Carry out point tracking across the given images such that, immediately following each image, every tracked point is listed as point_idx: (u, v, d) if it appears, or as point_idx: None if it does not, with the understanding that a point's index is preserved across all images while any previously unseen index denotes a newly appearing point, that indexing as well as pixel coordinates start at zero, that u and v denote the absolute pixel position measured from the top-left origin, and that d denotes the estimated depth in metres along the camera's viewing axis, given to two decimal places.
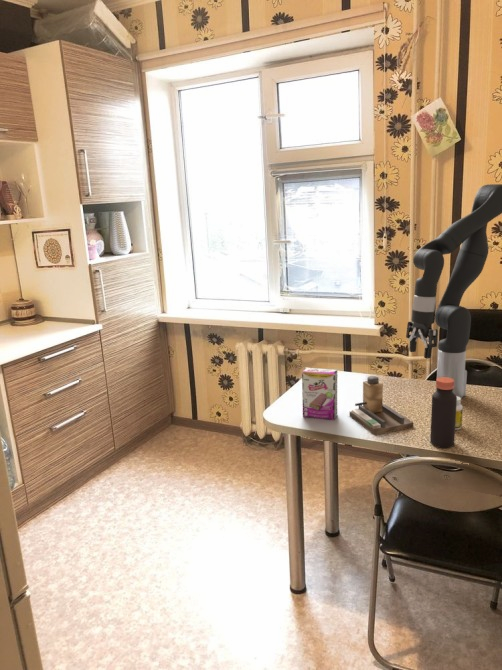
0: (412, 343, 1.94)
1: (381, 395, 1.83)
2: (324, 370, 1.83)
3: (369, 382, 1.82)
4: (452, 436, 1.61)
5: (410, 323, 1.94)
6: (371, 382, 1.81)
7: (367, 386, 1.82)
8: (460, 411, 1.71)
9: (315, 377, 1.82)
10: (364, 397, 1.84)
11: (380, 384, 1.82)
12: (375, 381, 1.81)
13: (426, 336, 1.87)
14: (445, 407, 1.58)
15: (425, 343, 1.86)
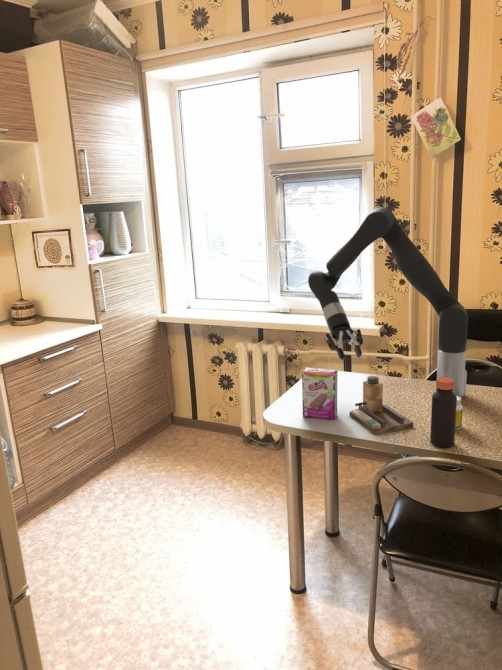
0: (355, 349, 1.97)
1: (381, 395, 1.83)
2: (324, 370, 1.83)
3: (369, 382, 1.82)
4: (452, 436, 1.61)
5: None
6: (371, 382, 1.81)
7: (367, 386, 1.82)
8: (460, 411, 1.71)
9: (315, 377, 1.82)
10: (364, 397, 1.84)
11: (380, 384, 1.82)
12: (375, 381, 1.81)
13: None
14: (445, 407, 1.58)
15: None
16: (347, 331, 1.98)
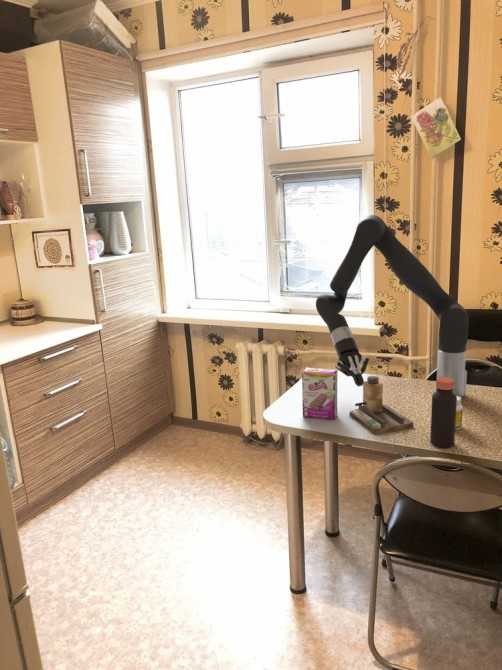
0: None
1: (381, 395, 1.83)
2: (324, 370, 1.83)
3: (369, 382, 1.82)
4: (452, 436, 1.61)
5: None
6: (371, 382, 1.81)
7: (367, 386, 1.82)
8: (460, 411, 1.71)
9: (315, 377, 1.82)
10: (364, 397, 1.84)
11: (380, 384, 1.82)
12: (375, 381, 1.81)
13: None
14: (445, 407, 1.58)
15: None
16: (355, 356, 1.94)
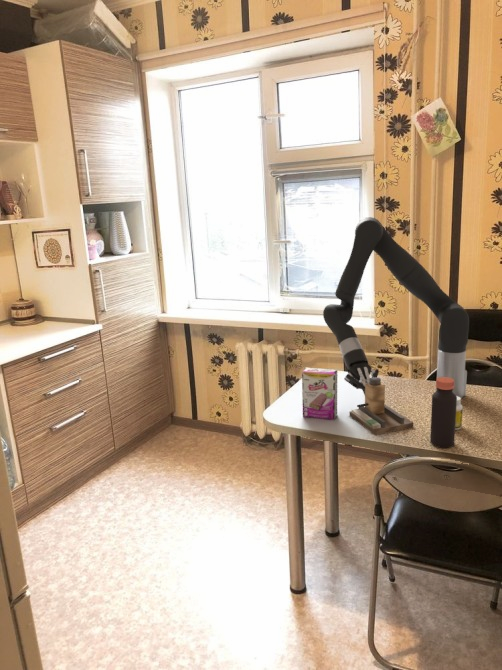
0: None
1: (383, 396, 1.82)
2: (324, 370, 1.83)
3: (371, 383, 1.81)
4: (452, 436, 1.61)
5: None
6: (373, 383, 1.80)
7: (369, 388, 1.81)
8: (460, 411, 1.71)
9: (315, 377, 1.82)
10: (366, 398, 1.83)
11: (382, 385, 1.80)
12: (377, 383, 1.80)
13: None
14: (445, 407, 1.58)
15: None
16: (365, 368, 1.89)
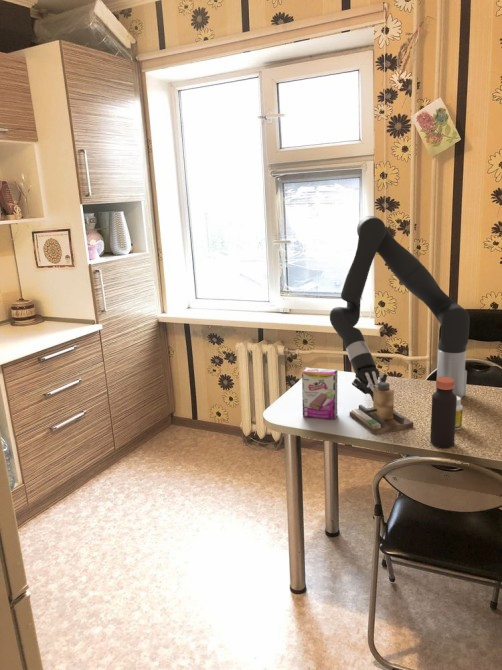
0: None
1: (392, 402, 1.77)
2: (324, 370, 1.83)
3: (380, 388, 1.76)
4: (452, 436, 1.61)
5: None
6: (382, 388, 1.75)
7: (377, 393, 1.76)
8: (460, 411, 1.71)
9: (315, 377, 1.82)
10: (374, 404, 1.79)
11: (391, 391, 1.76)
12: (386, 388, 1.75)
13: None
14: (445, 407, 1.58)
15: None
16: (373, 373, 1.84)
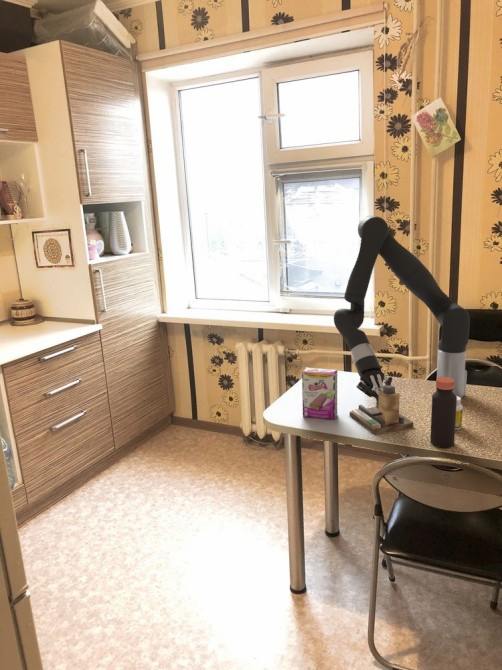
0: None
1: (398, 405, 1.74)
2: (324, 370, 1.83)
3: (385, 392, 1.73)
4: (452, 436, 1.61)
5: None
6: (387, 392, 1.72)
7: (383, 396, 1.73)
8: (460, 411, 1.71)
9: (315, 377, 1.82)
10: (380, 407, 1.76)
11: (397, 394, 1.73)
12: (392, 391, 1.72)
13: None
14: (445, 407, 1.58)
15: None
16: (378, 375, 1.81)
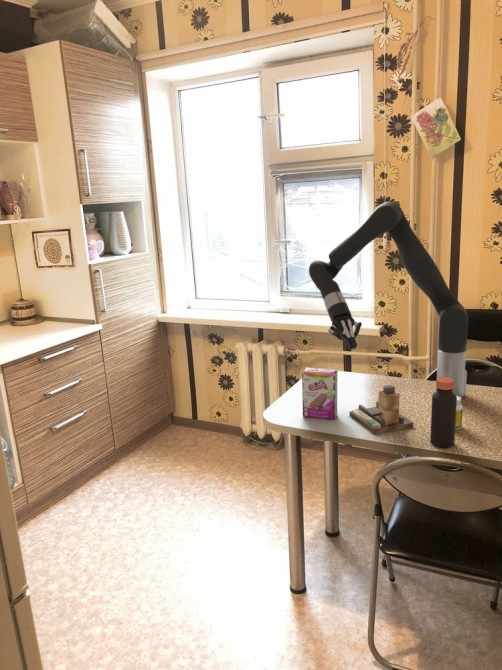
0: None
1: (398, 405, 1.74)
2: (324, 370, 1.83)
3: (385, 392, 1.73)
4: (452, 436, 1.61)
5: None
6: (387, 392, 1.72)
7: (383, 396, 1.73)
8: (460, 411, 1.71)
9: (315, 377, 1.82)
10: (380, 407, 1.76)
11: (397, 394, 1.73)
12: (392, 391, 1.72)
13: None
14: (445, 407, 1.58)
15: None
16: (348, 320, 1.96)
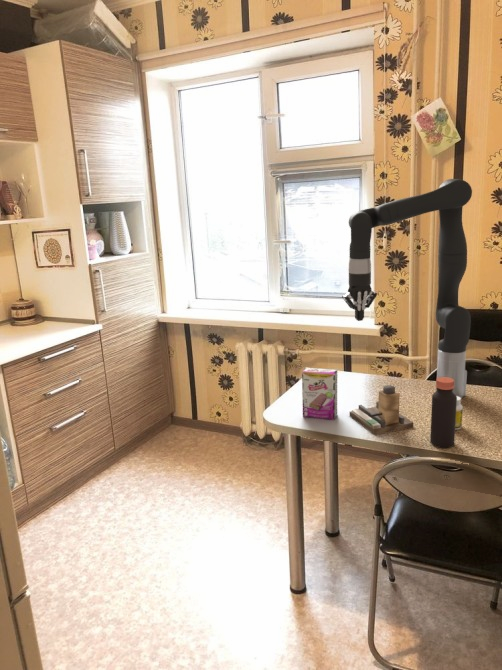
0: None
1: (398, 405, 1.74)
2: (324, 370, 1.83)
3: (385, 392, 1.73)
4: (452, 436, 1.61)
5: None
6: (387, 392, 1.72)
7: (383, 396, 1.73)
8: (460, 411, 1.71)
9: (315, 377, 1.82)
10: (380, 407, 1.76)
11: (397, 394, 1.73)
12: (392, 391, 1.72)
13: None
14: (445, 407, 1.58)
15: None
16: (365, 292, 1.90)
